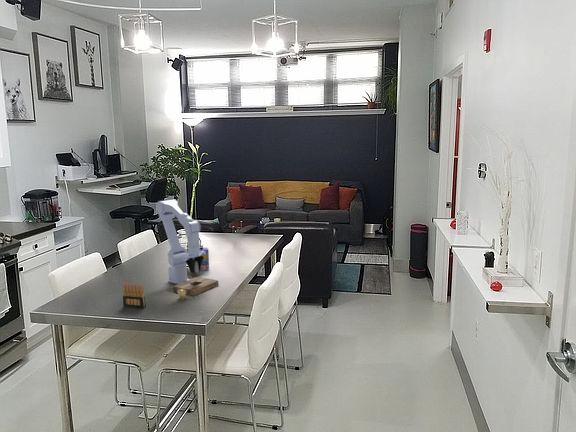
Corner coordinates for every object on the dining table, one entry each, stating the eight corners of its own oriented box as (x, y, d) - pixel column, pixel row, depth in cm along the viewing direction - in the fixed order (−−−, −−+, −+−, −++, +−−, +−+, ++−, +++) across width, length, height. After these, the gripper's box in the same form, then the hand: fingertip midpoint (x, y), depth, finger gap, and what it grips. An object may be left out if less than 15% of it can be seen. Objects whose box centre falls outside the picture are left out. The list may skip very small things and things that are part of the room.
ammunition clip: (146, 306, 211) (143, 281, 209) (143, 308, 210) (141, 282, 208) (125, 305, 214) (123, 280, 212) (123, 306, 213) (120, 281, 211)
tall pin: (190, 277, 234) (189, 261, 233) (194, 275, 237) (193, 259, 236) (196, 277, 233) (195, 262, 231) (200, 275, 236) (199, 260, 234)
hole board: (173, 291, 232) (172, 286, 232) (198, 281, 247) (197, 276, 247) (194, 295, 225) (193, 290, 224) (218, 285, 240) (218, 280, 239)
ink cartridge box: (192, 271, 264) (191, 247, 262) (191, 269, 269) (189, 245, 267) (209, 269, 268) (208, 245, 265) (208, 267, 273) (206, 243, 270)
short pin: (176, 299, 220) (176, 290, 219) (182, 297, 223) (181, 288, 222) (182, 300, 218) (181, 291, 218) (187, 298, 221) (187, 289, 221)
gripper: (189, 249, 224) (191, 276, 226) (209, 243, 236) (210, 268, 238) (178, 247, 228) (180, 274, 230) (199, 241, 240) (200, 267, 242)
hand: (195, 271), depth 234 cm, fingers closed on tall pin, 4 cm apart
